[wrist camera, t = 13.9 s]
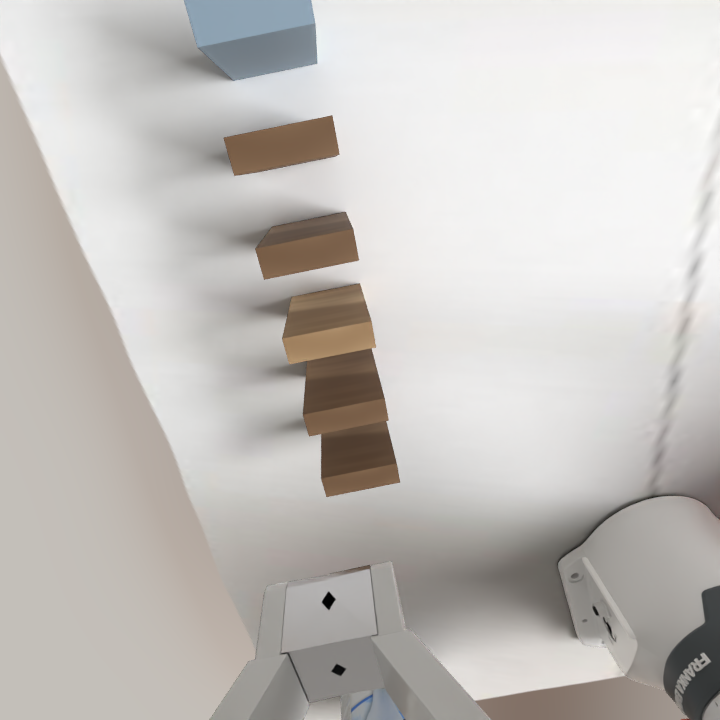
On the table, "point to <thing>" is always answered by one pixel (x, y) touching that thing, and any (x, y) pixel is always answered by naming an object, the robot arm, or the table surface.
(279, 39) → the domino
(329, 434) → the domino
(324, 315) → the domino
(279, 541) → the table surface
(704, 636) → the robot arm
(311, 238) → the domino
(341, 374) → the domino
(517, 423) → the table surface
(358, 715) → the light bulb box
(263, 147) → the domino
